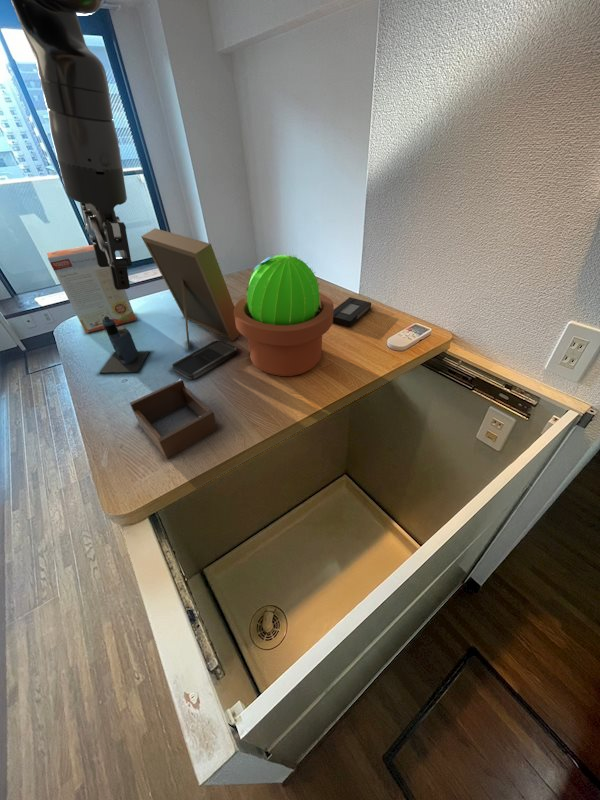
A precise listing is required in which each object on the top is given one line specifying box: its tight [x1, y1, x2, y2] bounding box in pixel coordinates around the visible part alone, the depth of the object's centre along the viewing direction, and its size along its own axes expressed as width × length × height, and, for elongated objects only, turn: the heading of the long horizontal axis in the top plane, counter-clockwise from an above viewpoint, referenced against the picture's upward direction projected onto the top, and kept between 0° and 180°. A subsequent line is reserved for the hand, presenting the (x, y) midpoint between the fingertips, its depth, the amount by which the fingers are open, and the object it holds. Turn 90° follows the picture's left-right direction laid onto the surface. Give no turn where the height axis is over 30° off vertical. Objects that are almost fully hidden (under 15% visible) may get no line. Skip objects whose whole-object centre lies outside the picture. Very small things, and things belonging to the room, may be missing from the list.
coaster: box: [99, 350, 151, 375], centre depth 81 cm, size 9×9×1 cm
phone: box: [172, 339, 238, 380], centre depth 81 cm, size 8×1×15 cm
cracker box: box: [46, 244, 137, 334], centre depth 90 cm, size 14×6×21 cm, turn 123°
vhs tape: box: [332, 297, 372, 328], centre depth 98 cm, size 8×14×2 cm, turn 146°
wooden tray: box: [129, 378, 218, 459], centre depth 62 cm, size 12×11×6 cm
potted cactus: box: [234, 252, 335, 377], centre depth 74 cm, size 22×22×25 cm
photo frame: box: [140, 227, 242, 351], centre depth 83 cm, size 15×22×25 cm
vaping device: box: [103, 317, 138, 364], centre depth 77 cm, size 3×5×12 cm, turn 161°
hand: (113, 276), depth 54 cm, fingers open, 8 cm apart
